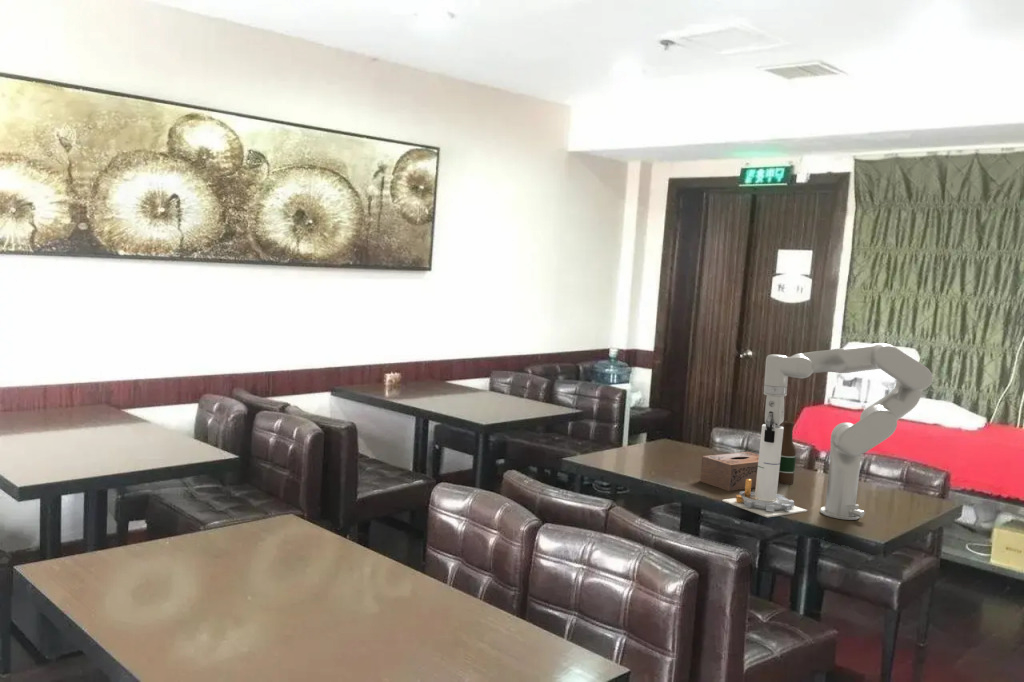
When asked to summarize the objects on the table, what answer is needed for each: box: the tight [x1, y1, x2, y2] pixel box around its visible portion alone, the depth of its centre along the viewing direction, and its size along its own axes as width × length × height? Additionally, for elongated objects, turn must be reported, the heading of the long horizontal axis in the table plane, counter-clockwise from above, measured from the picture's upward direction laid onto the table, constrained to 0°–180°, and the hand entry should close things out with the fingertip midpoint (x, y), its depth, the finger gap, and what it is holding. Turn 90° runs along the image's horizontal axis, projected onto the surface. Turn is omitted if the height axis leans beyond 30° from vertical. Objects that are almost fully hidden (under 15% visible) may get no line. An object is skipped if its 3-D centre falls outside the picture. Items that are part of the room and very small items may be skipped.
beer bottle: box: [778, 420, 797, 485], centre depth 322 cm, size 8×8×24 cm
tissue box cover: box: [699, 451, 759, 492], centre depth 316 cm, size 26×14×10 cm, turn 123°
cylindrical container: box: [754, 423, 784, 500], centre depth 283 cm, size 7×7×25 cm
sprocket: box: [735, 479, 795, 512], centre depth 284 cm, size 19×19×8 cm
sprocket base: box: [722, 497, 808, 518], centre depth 285 cm, size 20×20×1 cm
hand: (771, 439), depth 283 cm, fingers open, 9 cm apart
